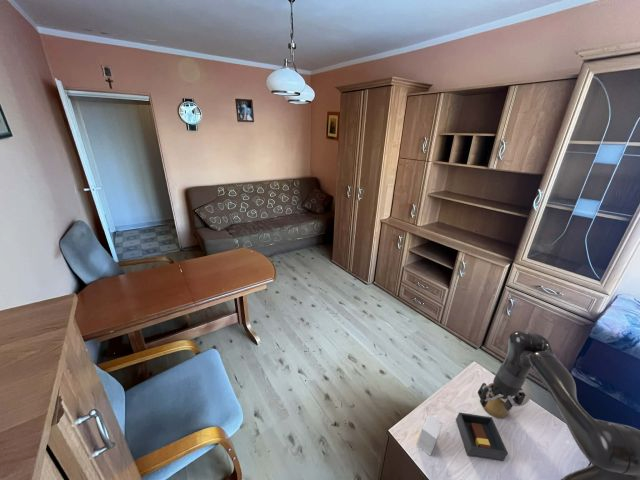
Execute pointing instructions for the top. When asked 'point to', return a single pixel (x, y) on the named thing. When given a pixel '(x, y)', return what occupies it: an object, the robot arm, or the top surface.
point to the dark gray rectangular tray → (492, 435)
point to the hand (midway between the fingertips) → (494, 406)
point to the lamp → (497, 405)
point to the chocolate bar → (479, 436)
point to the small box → (429, 434)
